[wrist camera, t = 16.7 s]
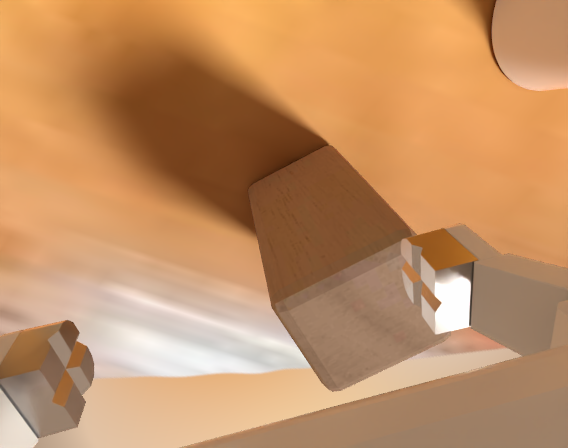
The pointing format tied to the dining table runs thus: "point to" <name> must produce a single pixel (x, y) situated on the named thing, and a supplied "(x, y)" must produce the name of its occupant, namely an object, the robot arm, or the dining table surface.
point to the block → (337, 269)
